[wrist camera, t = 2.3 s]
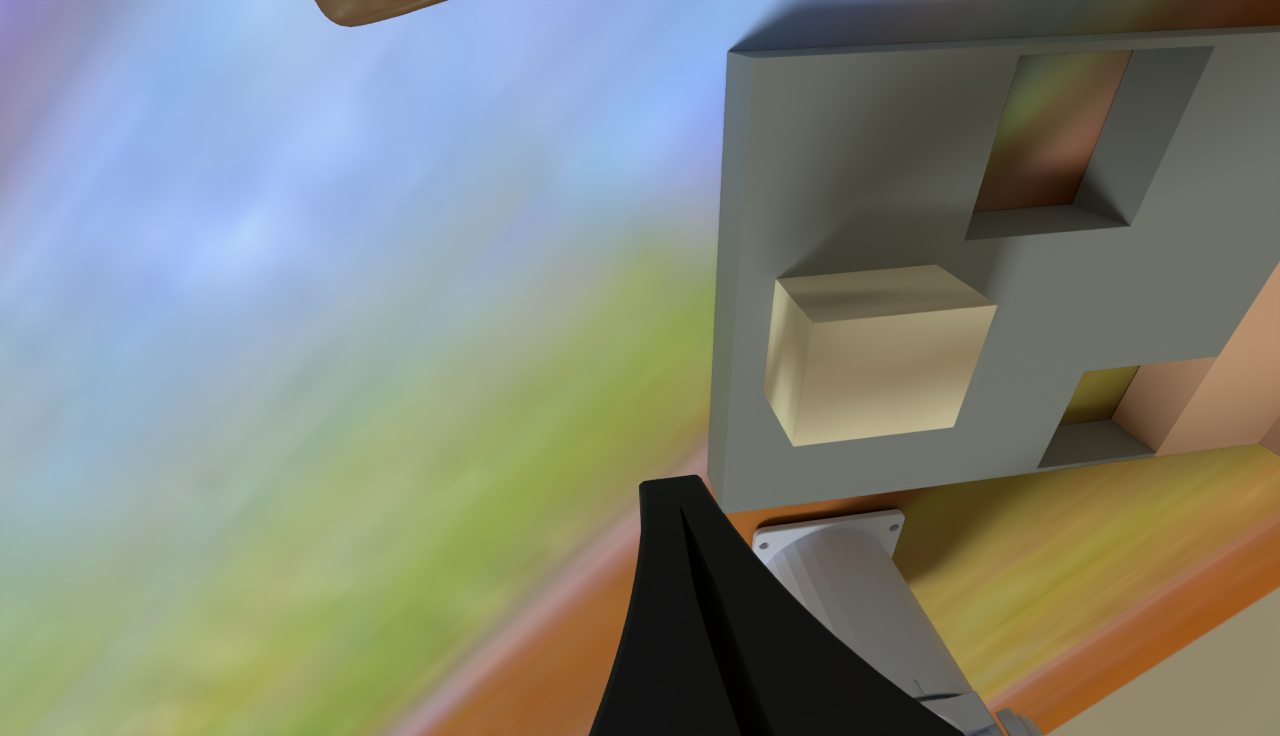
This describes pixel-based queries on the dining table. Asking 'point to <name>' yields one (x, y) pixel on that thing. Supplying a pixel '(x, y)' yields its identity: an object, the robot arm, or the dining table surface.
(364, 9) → the tin
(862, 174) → the board
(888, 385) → the beech block
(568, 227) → the dining table surface
